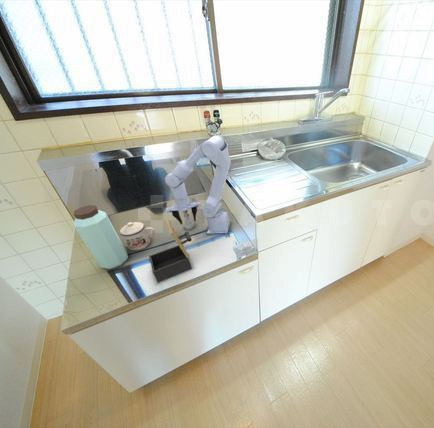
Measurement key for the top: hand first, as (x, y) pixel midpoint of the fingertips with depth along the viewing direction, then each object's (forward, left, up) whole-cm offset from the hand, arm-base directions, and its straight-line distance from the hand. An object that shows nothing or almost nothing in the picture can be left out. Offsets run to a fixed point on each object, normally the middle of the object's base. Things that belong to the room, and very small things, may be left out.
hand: (188, 221), depth 112 cm
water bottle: (+23, +22, -3) cm, 32 cm away
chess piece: (0, 0, -3) cm, 3 cm away
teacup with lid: (+17, +12, -3) cm, 21 cm away
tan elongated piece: (-5, +25, +9) cm, 27 cm away
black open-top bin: (-2, +27, -3) cm, 27 cm away
